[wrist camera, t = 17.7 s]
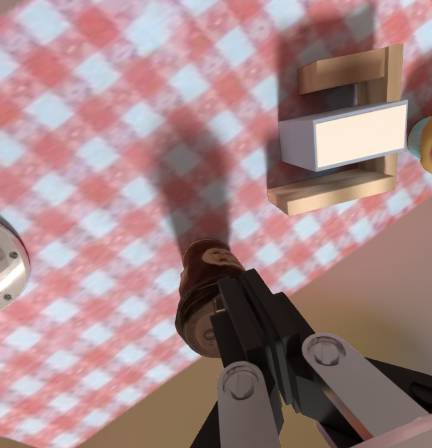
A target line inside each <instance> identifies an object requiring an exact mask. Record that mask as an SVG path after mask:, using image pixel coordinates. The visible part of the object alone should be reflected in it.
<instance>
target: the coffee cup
mask: <svg viewBox="0 0 432 448" xmlns="http://www.w3.org/2000/svg"><path fill="white" fill-rule="evenodd" d="M182 262H183V267H184V271H183V272H182V273H181V282H180V287H179V293H180V298H181V299H180V301H179V304H178V309H177V314H176V320H175V327H176V330H177V332H178V334H179V335H180V336H181V337H182V338H183V340H184V341H185V342H186V343H187V344H188V345H189V347H190V348H191V349H192V350H193V351H195V352H196V353H198V354H200V355H202V356H206V357H211V358H221V355H220V352H219V348H218V345H217V341H216V338H215V334H214V331H213V327H212V324H211V320H210V316H211V315H214V314H217V313H220V312H223V311H225V308H224V304H223V301H222V297H221V293H220V290H219V286H218V282H217V280H219V279H222V278H225V277H228V276H229V277H230V279H233V278H235V279H236V281H237V283H238V284H239V286H240V283H239V278H238V277H240V276H242V272H244V271H246V270H245V269H244V267H243V266H242V265H241V263H240V262H239V261H238V260H237V258H236V257H235V256H234V255H233V254H232V253H231V252H230V251H229V249H228V247H227V246H226V245H225V244H224V243H222V242H220V241H218V240H214V239H201V240H199V241H194V242H193V243H191V245H190V246H189V247H188V248H187V249H186V250H185V253H184V255H183V260H182ZM240 288H241V287H240Z"/></svg>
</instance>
